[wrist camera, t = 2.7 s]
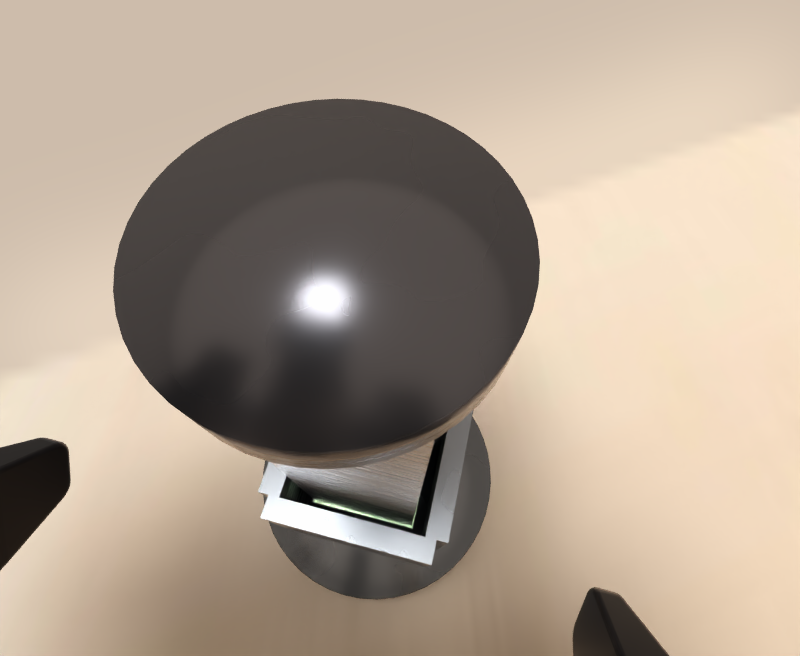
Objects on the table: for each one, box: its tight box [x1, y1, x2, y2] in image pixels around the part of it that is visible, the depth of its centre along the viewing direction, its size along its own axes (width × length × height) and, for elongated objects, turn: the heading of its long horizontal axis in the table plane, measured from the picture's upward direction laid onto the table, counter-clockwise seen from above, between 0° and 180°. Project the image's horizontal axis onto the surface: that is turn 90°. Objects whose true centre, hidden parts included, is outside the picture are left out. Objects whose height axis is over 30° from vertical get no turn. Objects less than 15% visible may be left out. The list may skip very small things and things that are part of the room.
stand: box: [258, 411, 491, 599], centre depth 16 cm, size 8×8×6 cm
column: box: [113, 99, 540, 530], centre depth 11 cm, size 5×5×13 cm
